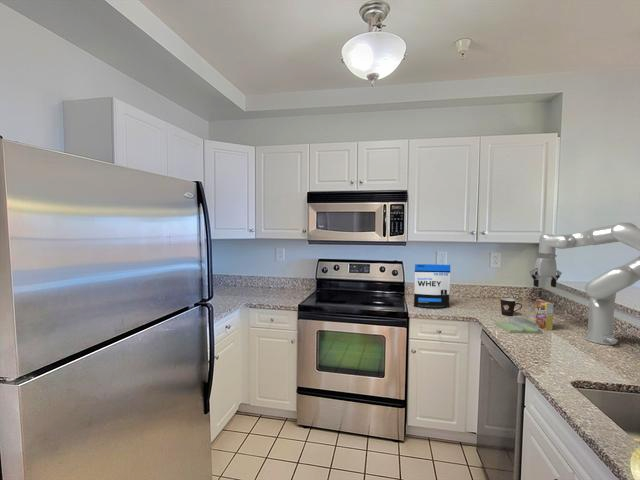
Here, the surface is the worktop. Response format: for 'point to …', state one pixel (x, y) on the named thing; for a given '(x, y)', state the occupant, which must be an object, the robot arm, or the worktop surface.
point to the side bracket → (522, 323)
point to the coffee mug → (508, 306)
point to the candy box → (544, 314)
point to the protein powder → (432, 286)
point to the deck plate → (513, 329)
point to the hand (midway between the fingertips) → (544, 286)
